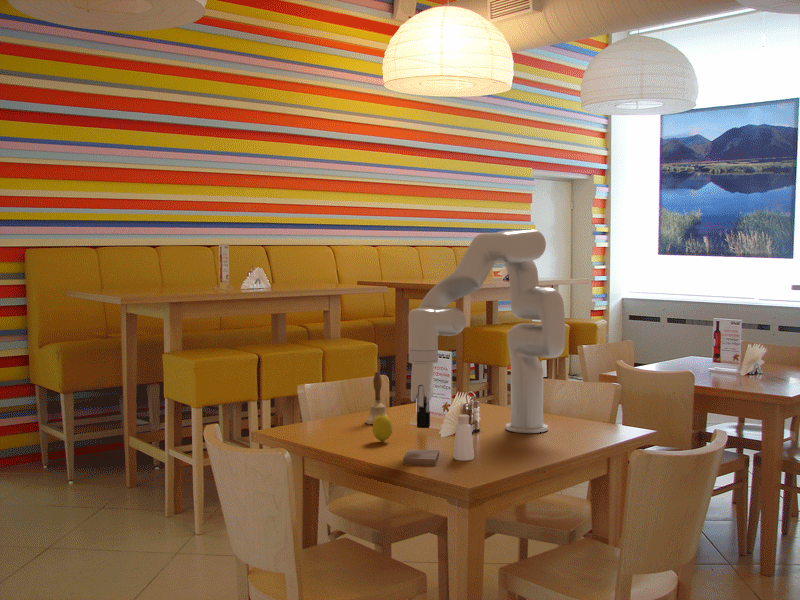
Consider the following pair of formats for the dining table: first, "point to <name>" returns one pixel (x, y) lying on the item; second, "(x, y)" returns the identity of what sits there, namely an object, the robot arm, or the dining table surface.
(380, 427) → the lemon
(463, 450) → the pepper shaker
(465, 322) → the robot arm
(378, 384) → the hand bell
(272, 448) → the dining table surface
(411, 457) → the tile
